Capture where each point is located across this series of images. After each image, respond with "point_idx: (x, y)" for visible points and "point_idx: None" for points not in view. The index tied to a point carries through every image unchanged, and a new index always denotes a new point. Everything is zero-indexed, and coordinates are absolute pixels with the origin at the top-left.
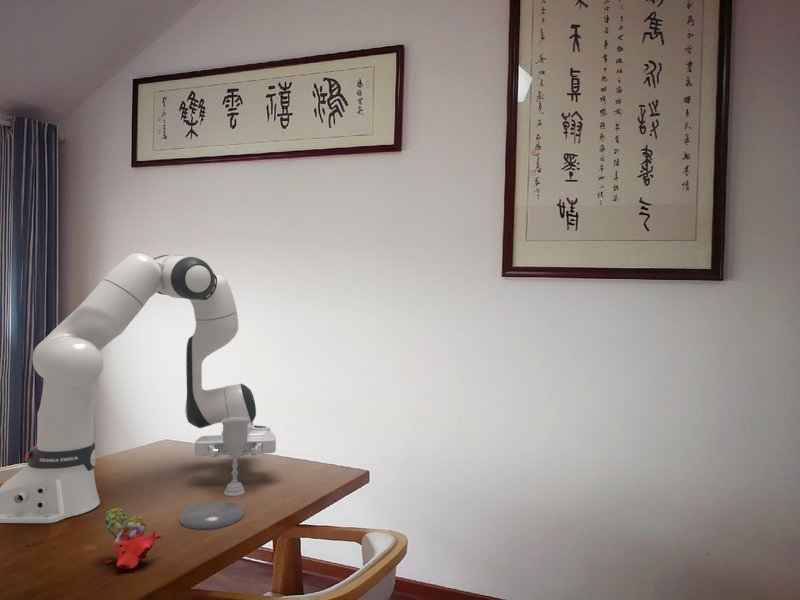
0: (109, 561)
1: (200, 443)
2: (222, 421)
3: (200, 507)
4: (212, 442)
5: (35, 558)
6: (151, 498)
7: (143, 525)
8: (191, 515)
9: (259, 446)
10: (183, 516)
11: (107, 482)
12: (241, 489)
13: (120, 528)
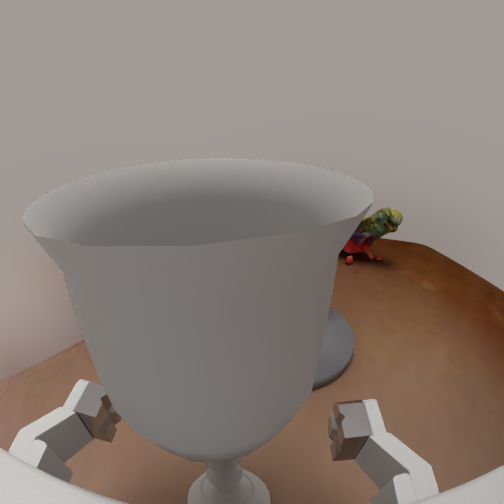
0: (378, 257)
1: (496, 469)
2: (356, 204)
3: (320, 356)
4: (425, 499)
5: (458, 274)
6: (481, 449)
7: None
8: (327, 324)
9: (47, 420)
10: (342, 321)
11: None
12: (201, 475)
13: (370, 216)
